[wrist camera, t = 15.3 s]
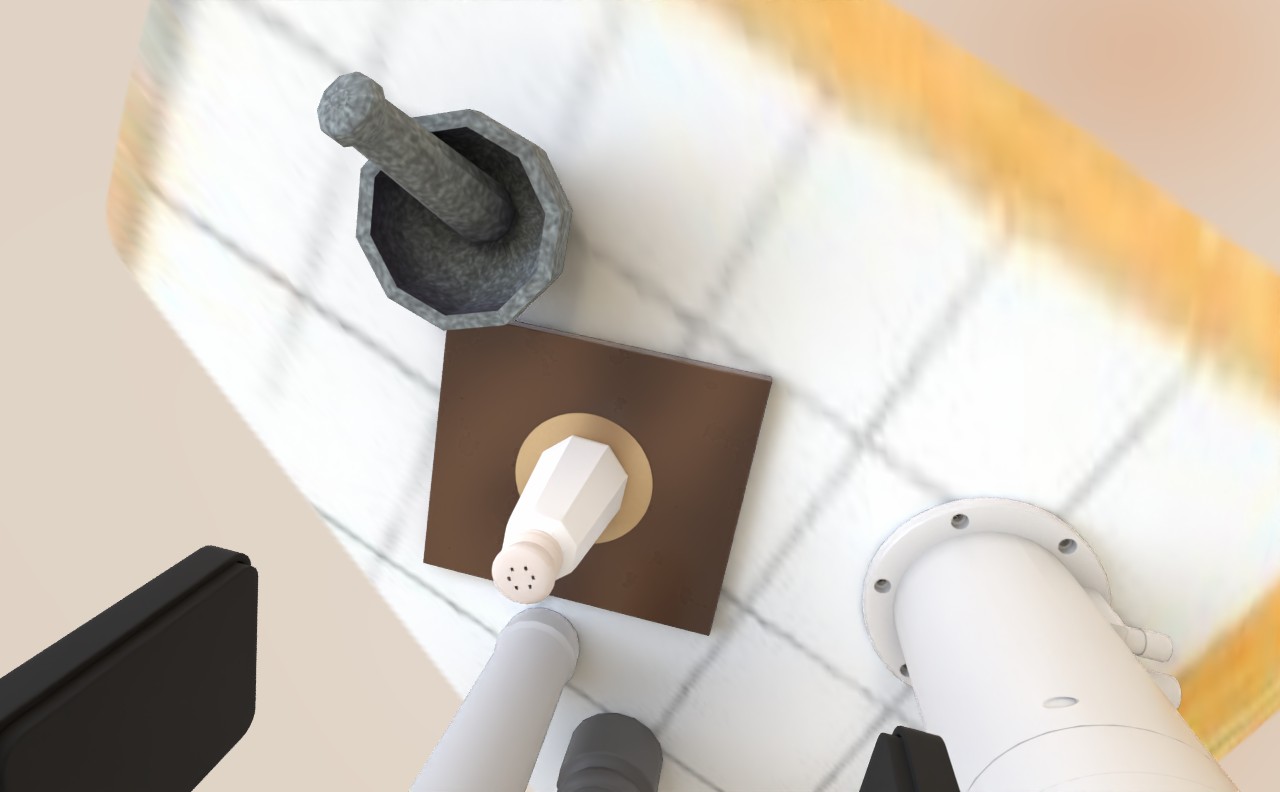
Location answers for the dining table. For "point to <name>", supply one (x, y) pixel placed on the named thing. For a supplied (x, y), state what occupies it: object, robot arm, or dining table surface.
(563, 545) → the pepper shaker
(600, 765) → the candle holder
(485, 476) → the board
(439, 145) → the mortar and pestle
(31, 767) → the robot arm
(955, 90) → the dining table surface
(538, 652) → the bottle
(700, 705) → the dining table surface
